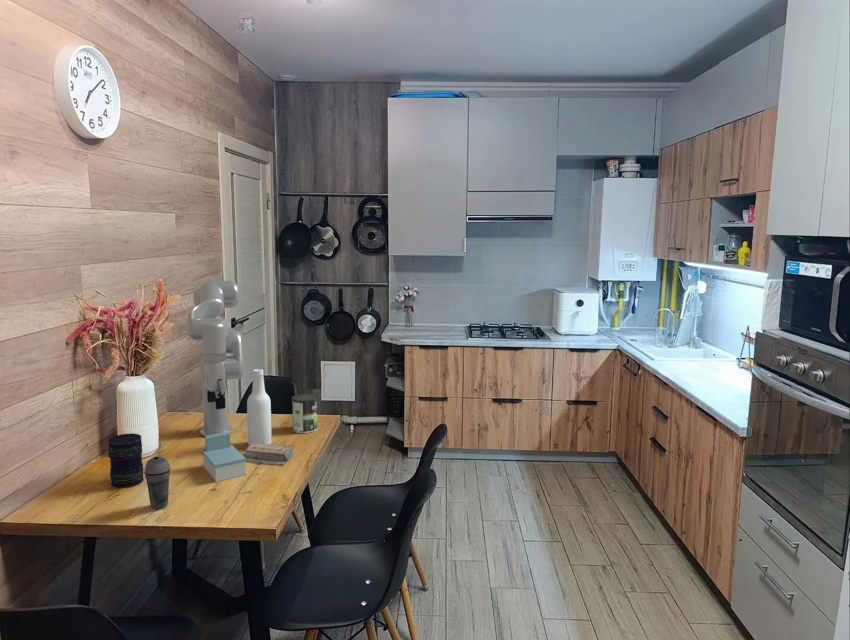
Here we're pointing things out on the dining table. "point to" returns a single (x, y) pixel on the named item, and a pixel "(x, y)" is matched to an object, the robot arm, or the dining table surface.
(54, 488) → the dining table surface
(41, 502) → the dining table surface
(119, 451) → the storage jar
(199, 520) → the dining table surface
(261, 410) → the alcohol
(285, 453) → the packaged product
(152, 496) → the beverage cup
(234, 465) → the tub
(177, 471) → the dining table surface
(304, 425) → the coffee can
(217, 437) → the lid
